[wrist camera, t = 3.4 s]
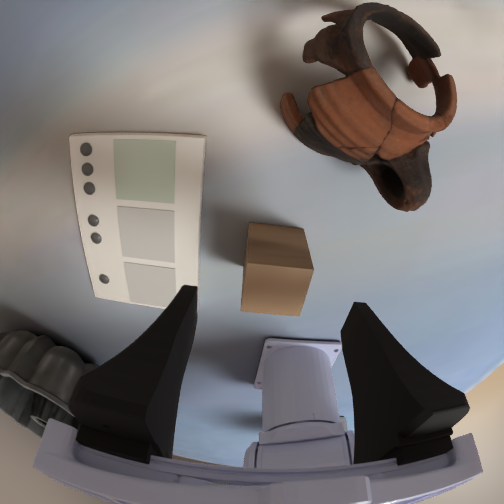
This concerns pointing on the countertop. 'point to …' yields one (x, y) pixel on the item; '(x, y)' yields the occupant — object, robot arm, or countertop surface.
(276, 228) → the walnut block
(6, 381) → the bundt pan
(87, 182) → the board
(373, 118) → the pottery mug
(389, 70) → the countertop surface
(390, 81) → the countertop surface
